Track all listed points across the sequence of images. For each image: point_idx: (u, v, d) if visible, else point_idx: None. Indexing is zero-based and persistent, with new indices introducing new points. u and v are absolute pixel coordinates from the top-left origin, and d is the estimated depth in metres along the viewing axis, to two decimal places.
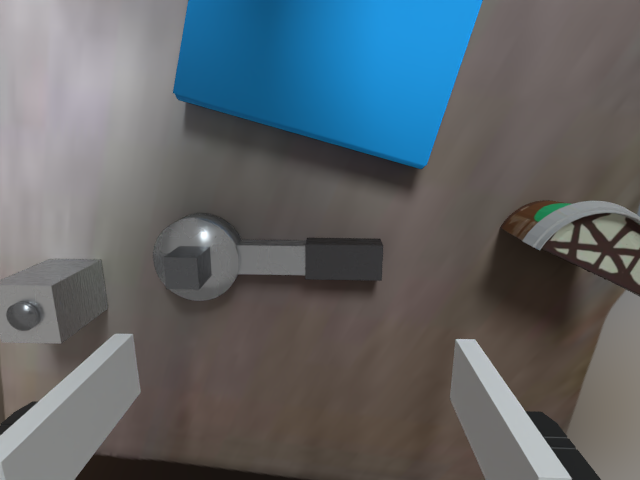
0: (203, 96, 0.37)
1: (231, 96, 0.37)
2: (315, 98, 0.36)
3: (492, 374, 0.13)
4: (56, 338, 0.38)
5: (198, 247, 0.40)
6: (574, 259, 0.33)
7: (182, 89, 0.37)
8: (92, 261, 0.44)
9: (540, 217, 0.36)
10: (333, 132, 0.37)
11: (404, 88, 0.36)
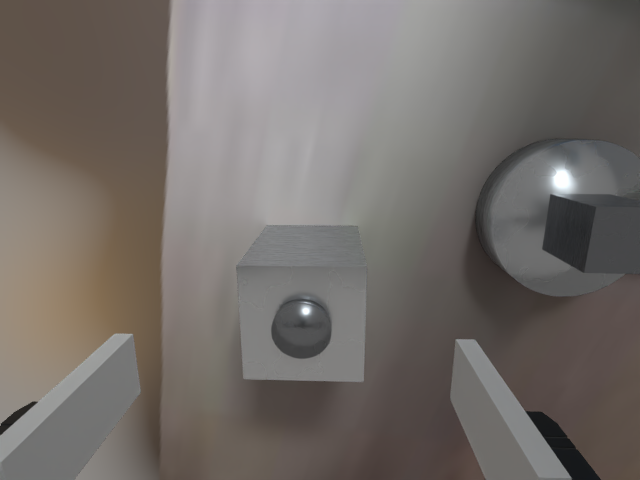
0: None
1: None
2: None
3: (492, 374, 0.13)
4: (355, 372, 0.19)
5: (596, 195, 0.21)
6: None
7: None
8: (349, 228, 0.25)
9: None
10: None
11: None
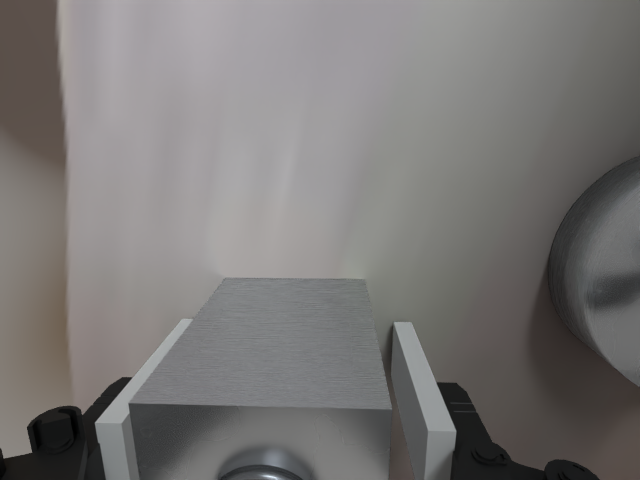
0: None
1: None
2: None
3: (416, 351, 0.15)
4: None
5: None
6: None
7: None
8: (352, 285, 0.16)
9: None
10: None
11: None
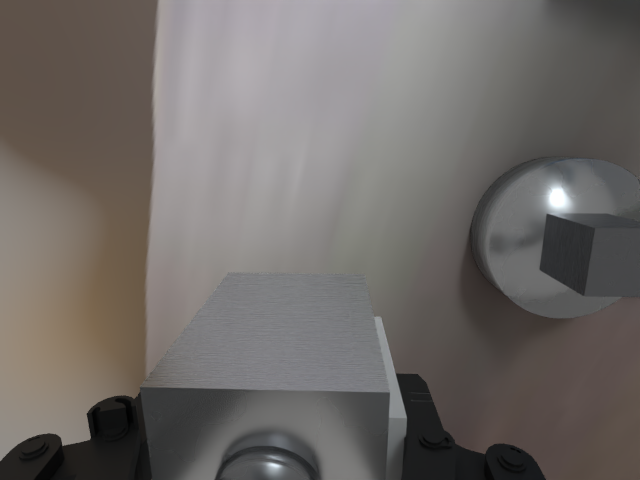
0: None
1: None
2: None
3: (381, 343, 0.15)
4: None
5: (593, 214, 0.21)
6: None
7: None
8: (352, 279, 0.17)
9: None
10: None
11: None
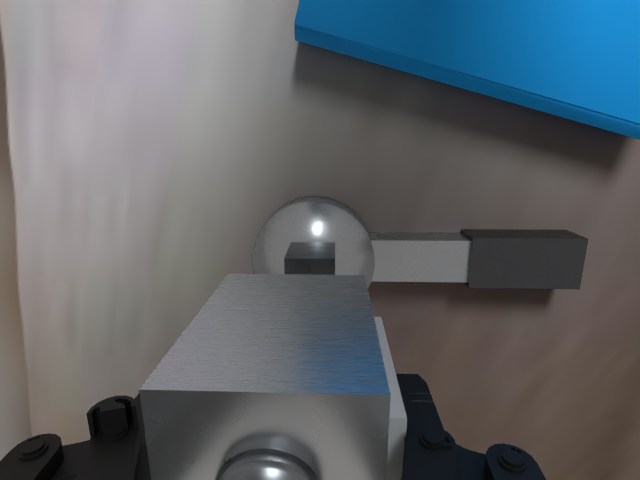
0: (340, 28, 0.25)
1: (382, 28, 0.24)
2: (510, 29, 0.24)
3: (381, 343, 0.15)
4: None
5: (320, 243, 0.28)
6: None
7: (309, 17, 0.24)
8: (352, 280, 0.17)
9: None
10: (532, 82, 0.25)
11: None
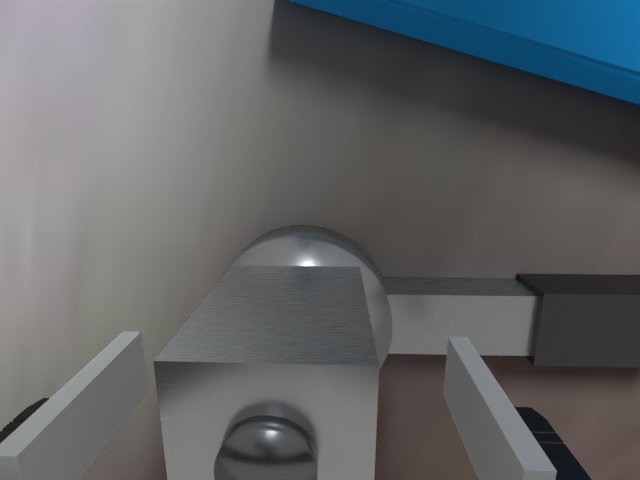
0: None
1: None
2: None
3: (483, 371, 0.13)
4: None
5: None
6: None
7: None
8: (347, 271, 0.18)
9: None
10: None
11: None
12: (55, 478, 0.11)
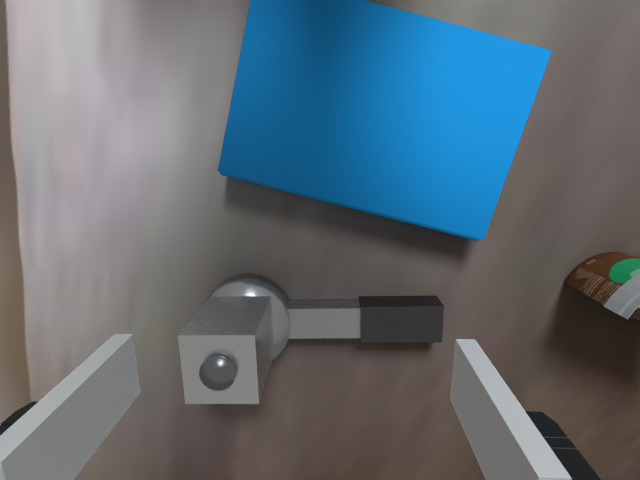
0: (249, 173, 0.35)
1: (279, 173, 0.35)
2: (367, 174, 0.35)
3: (492, 374, 0.13)
4: (253, 398, 0.31)
5: None
6: None
7: (228, 167, 0.35)
8: (264, 298, 0.38)
9: (617, 277, 0.34)
10: (385, 207, 0.35)
11: (460, 162, 0.34)
12: None
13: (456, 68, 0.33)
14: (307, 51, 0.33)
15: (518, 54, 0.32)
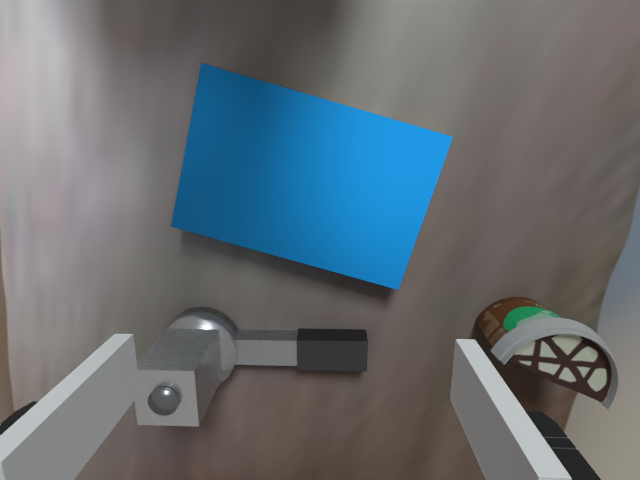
0: (198, 229, 0.41)
1: (223, 230, 0.41)
2: (298, 233, 0.41)
3: (492, 374, 0.13)
4: (194, 421, 0.38)
5: None
6: (536, 370, 0.37)
7: (179, 223, 0.41)
8: (212, 332, 0.44)
9: (507, 325, 0.40)
10: (314, 261, 0.41)
11: (377, 226, 0.40)
12: None
13: (372, 148, 0.38)
14: (246, 130, 0.38)
15: (425, 139, 0.38)
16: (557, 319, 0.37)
